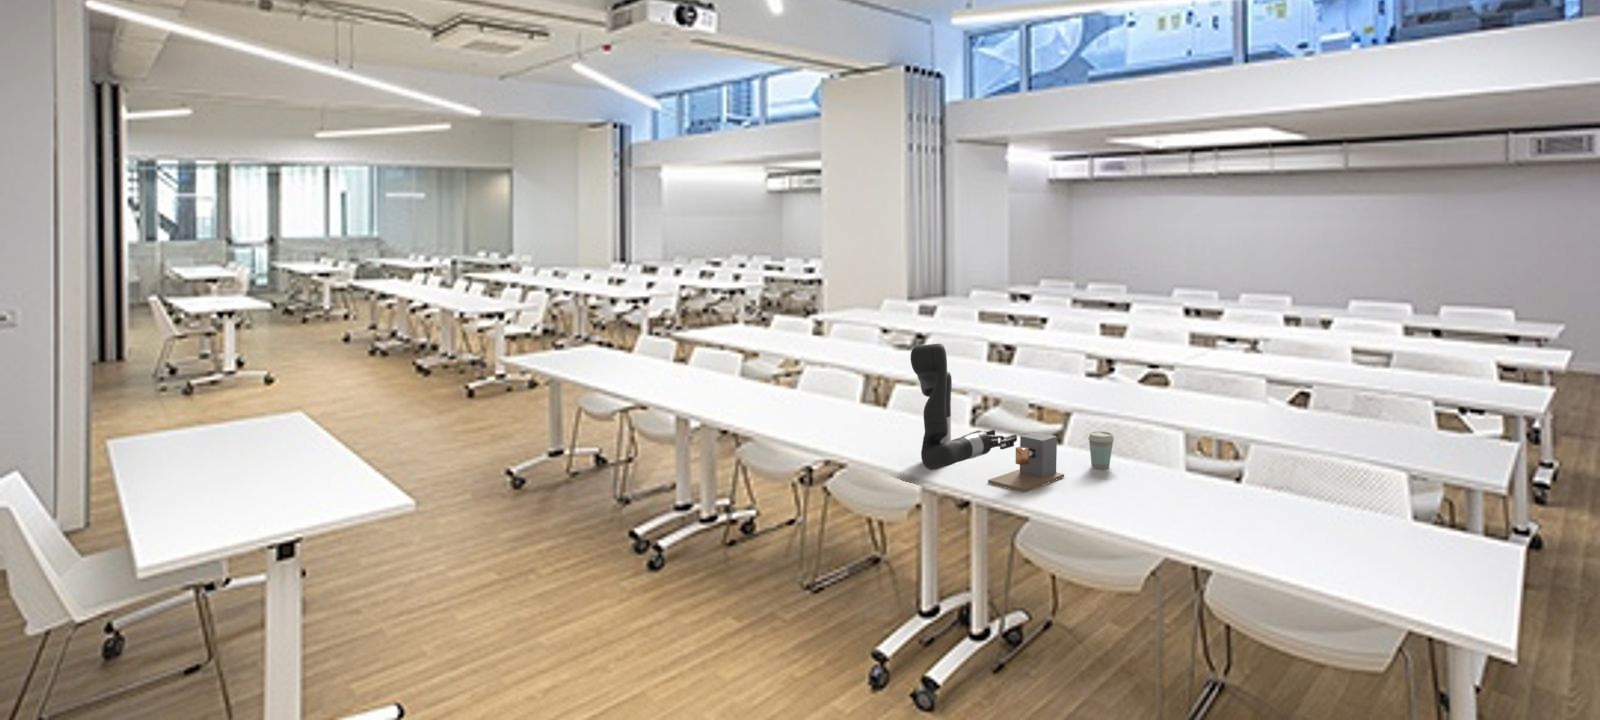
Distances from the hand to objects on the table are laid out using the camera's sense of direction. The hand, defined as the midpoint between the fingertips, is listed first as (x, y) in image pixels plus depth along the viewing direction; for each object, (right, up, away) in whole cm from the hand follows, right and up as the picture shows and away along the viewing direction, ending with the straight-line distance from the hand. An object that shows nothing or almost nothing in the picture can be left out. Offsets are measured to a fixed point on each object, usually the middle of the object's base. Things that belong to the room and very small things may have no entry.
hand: (1004, 435), depth 293 cm
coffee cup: (+39, -13, +24) cm, 47 cm away
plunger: (+11, -9, +11) cm, 18 cm away
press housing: (+10, -16, +10) cm, 21 cm away
